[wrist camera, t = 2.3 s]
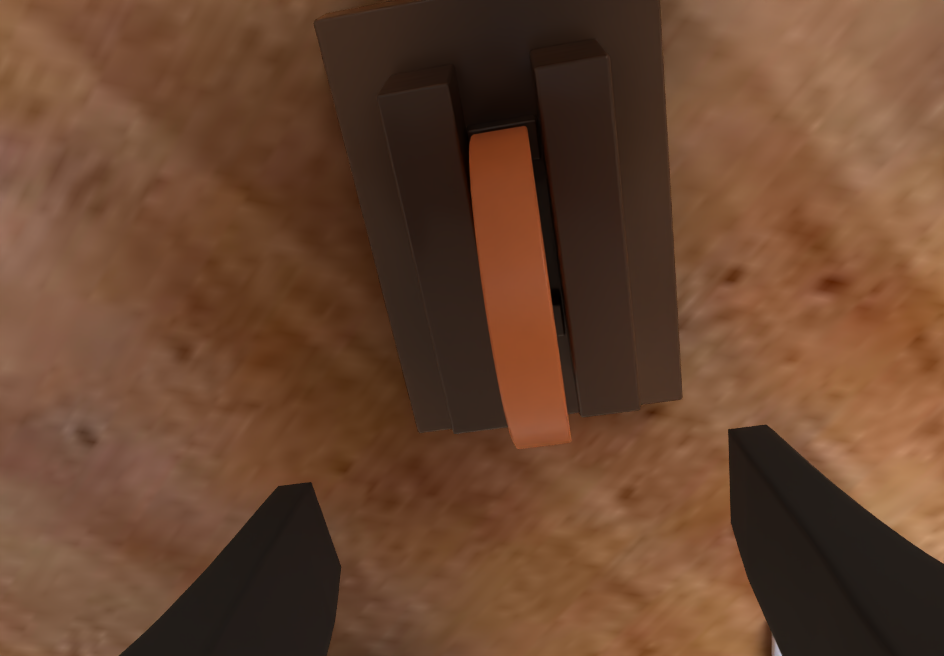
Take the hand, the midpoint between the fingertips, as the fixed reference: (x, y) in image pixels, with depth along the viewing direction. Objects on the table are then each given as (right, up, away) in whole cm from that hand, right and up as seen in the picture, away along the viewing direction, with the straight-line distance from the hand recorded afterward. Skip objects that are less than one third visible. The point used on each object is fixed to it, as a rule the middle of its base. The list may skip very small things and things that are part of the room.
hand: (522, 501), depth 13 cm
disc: (0, +4, +4) cm, 6 cm away
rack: (0, +6, +8) cm, 10 cm away
